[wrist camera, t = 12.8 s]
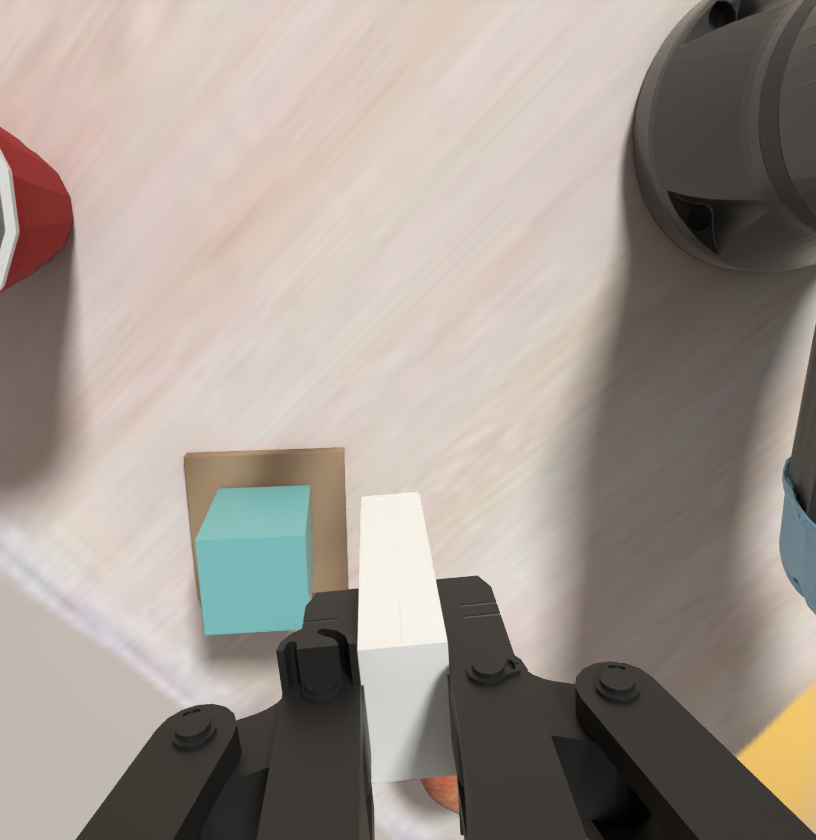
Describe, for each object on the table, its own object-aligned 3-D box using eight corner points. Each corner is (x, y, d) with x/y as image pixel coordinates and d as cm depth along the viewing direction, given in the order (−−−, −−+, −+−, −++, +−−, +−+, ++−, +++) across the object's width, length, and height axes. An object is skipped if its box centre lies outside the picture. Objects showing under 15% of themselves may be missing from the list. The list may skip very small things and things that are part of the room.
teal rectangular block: (310, 485, 39) (305, 535, 33) (314, 566, 40) (309, 629, 34) (218, 488, 39) (195, 540, 32) (225, 570, 40) (204, 635, 34)
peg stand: (343, 447, 40) (345, 493, 33) (348, 584, 42) (350, 652, 35) (186, 452, 39) (155, 500, 32) (200, 592, 41) (174, 663, 35)
